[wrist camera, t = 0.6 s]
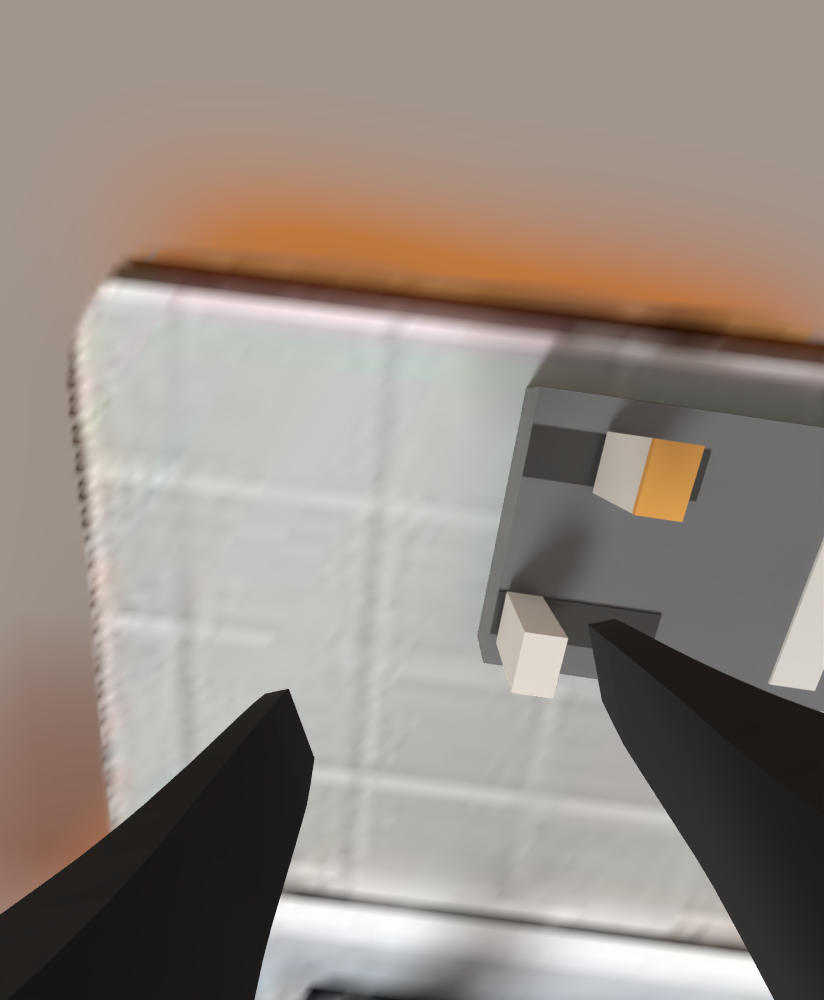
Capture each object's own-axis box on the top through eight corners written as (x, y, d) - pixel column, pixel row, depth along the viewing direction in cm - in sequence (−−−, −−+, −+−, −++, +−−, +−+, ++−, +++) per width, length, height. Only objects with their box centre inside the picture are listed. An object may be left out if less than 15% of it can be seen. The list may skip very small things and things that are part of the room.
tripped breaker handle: (646, 436, 16) (705, 445, 13) (630, 498, 16) (682, 522, 13) (607, 431, 16) (655, 438, 13) (592, 492, 16) (634, 515, 13)
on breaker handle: (542, 596, 17) (568, 638, 14) (530, 647, 18) (553, 698, 15) (506, 591, 17) (524, 632, 14) (495, 642, 18) (511, 692, 15)
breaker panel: (891, 441, 18) (957, 447, 16) (795, 681, 21) (840, 715, 19) (526, 388, 18) (540, 386, 16) (477, 636, 21) (483, 664, 19)
